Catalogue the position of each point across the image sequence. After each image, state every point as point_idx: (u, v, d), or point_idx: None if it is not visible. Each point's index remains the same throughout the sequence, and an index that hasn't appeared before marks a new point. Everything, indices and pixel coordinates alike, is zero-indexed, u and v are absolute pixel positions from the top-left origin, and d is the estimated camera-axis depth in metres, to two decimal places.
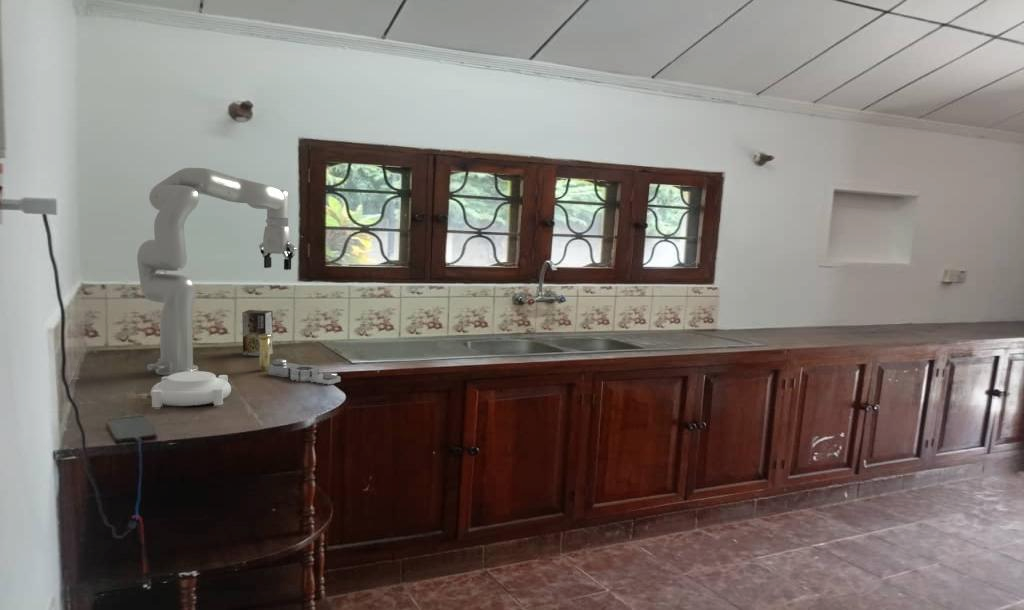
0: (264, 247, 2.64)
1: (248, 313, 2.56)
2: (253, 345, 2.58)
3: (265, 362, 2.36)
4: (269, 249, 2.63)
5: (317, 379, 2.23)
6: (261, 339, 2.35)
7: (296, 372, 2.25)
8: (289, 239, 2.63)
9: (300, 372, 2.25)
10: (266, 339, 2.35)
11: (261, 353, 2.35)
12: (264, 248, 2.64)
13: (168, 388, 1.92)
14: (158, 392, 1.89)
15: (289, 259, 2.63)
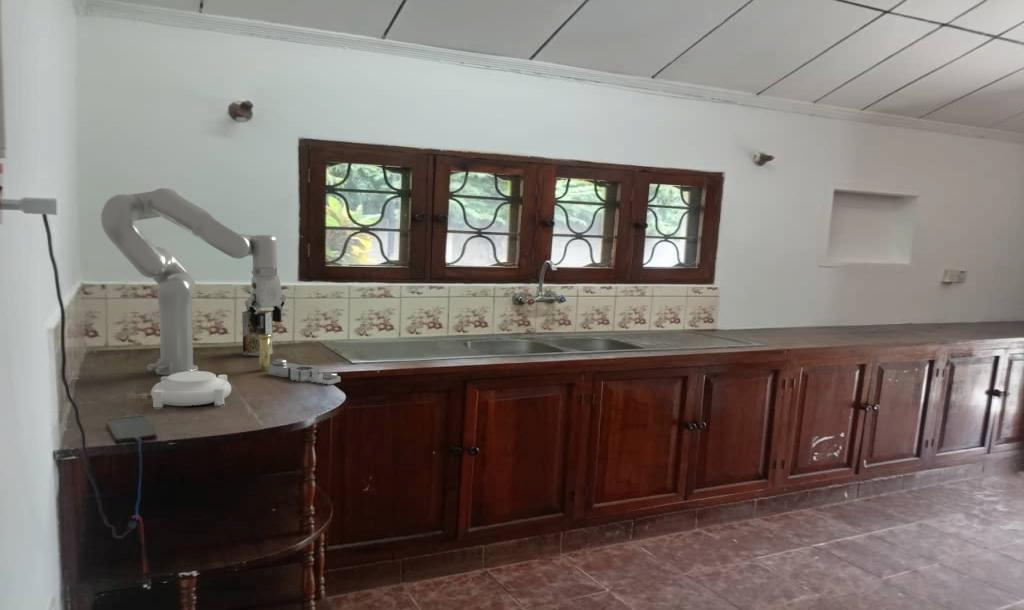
0: (263, 302, 2.30)
1: (248, 313, 2.56)
2: (253, 345, 2.58)
3: (265, 362, 2.36)
4: (269, 303, 2.32)
5: (317, 379, 2.23)
6: (261, 339, 2.35)
7: (296, 372, 2.25)
8: None
9: (300, 372, 2.25)
10: (266, 339, 2.35)
11: (261, 353, 2.35)
12: (263, 303, 2.30)
13: (169, 389, 1.92)
14: (159, 392, 1.89)
15: None
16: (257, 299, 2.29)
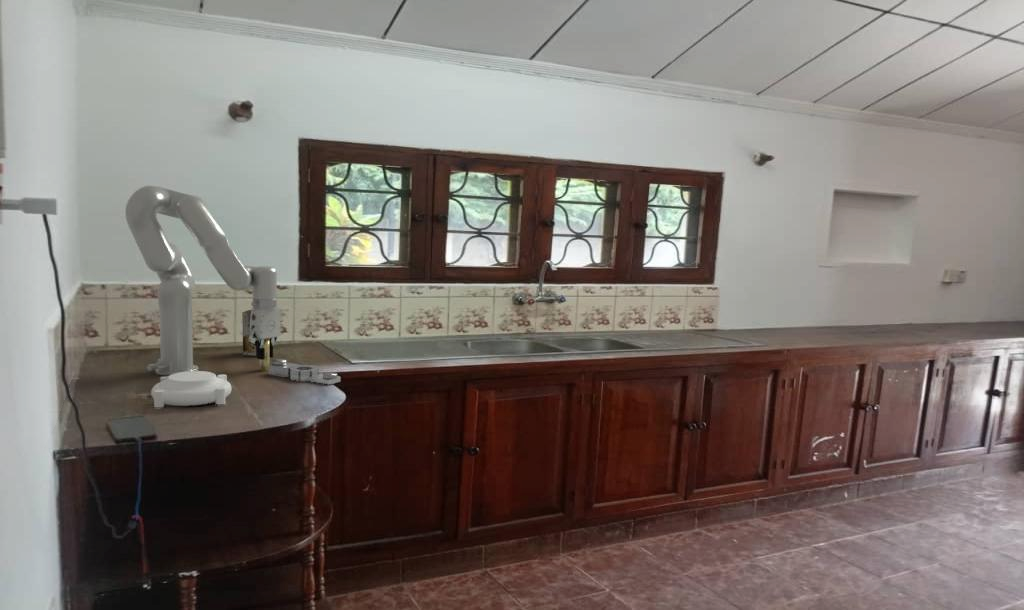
0: (262, 334, 2.31)
1: (248, 313, 2.56)
2: (253, 345, 2.58)
3: (265, 362, 2.36)
4: (268, 334, 2.34)
5: (317, 379, 2.23)
6: None
7: (296, 372, 2.25)
8: None
9: (300, 372, 2.25)
10: (266, 339, 2.35)
11: None
12: (262, 335, 2.31)
13: (170, 389, 1.92)
14: (160, 392, 1.89)
15: None
16: None
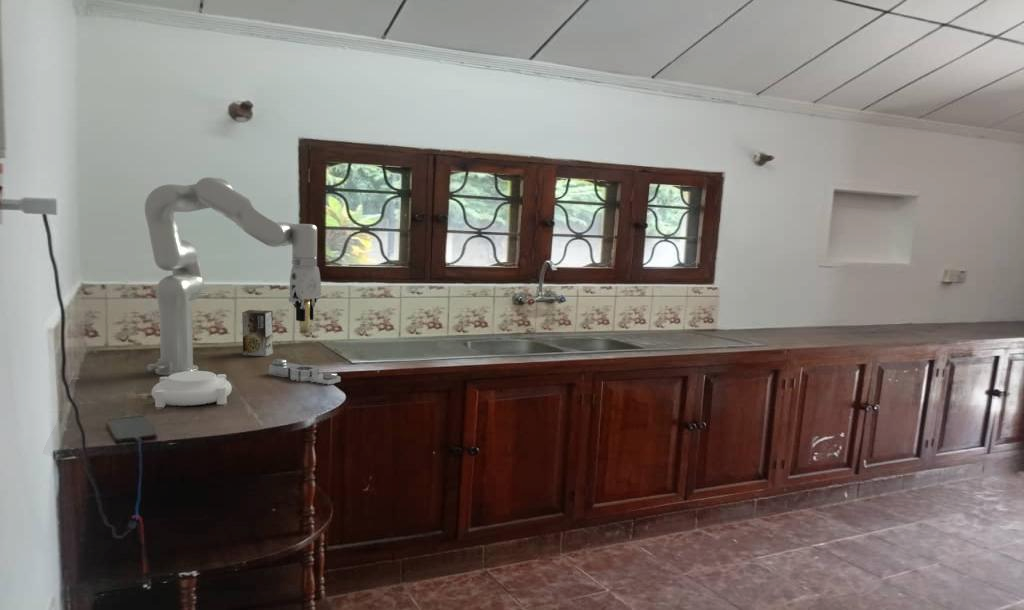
0: (303, 293, 2.21)
1: (248, 313, 2.56)
2: (253, 345, 2.58)
3: (305, 324, 2.26)
4: (308, 295, 2.23)
5: (317, 379, 2.23)
6: None
7: (296, 372, 2.25)
8: None
9: (300, 372, 2.25)
10: (306, 300, 2.25)
11: None
12: (303, 295, 2.21)
13: (171, 388, 1.92)
14: (162, 392, 1.89)
15: None
16: None
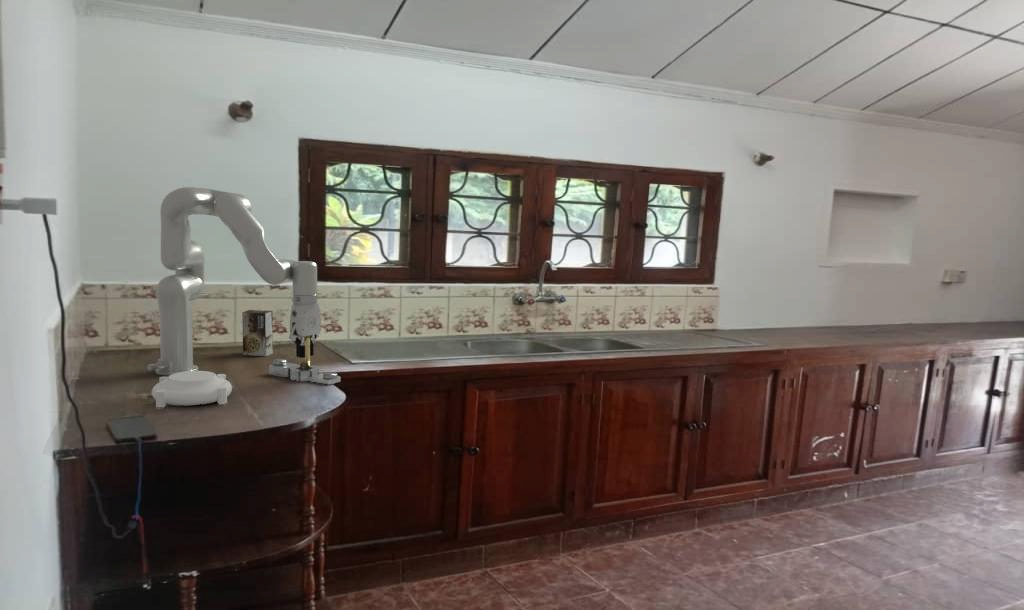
0: (303, 331, 2.23)
1: (248, 313, 2.56)
2: (253, 345, 2.58)
3: (305, 360, 2.27)
4: (309, 331, 2.25)
5: (317, 379, 2.23)
6: None
7: (296, 372, 2.25)
8: None
9: (300, 372, 2.25)
10: (307, 336, 2.26)
11: None
12: (303, 332, 2.23)
13: (171, 388, 1.92)
14: (162, 392, 1.89)
15: None
16: None
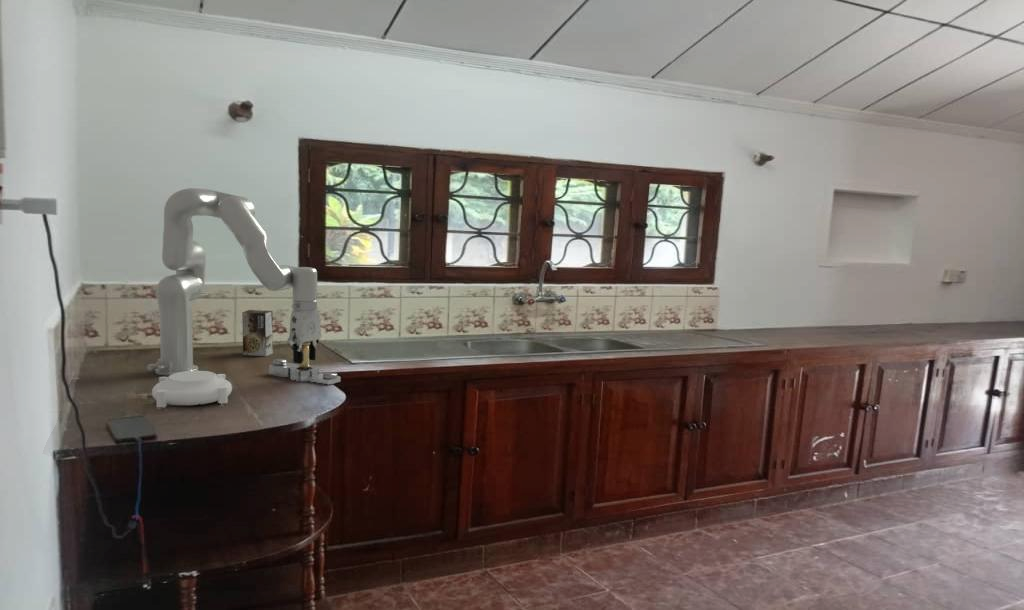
0: (302, 337, 2.23)
1: (248, 313, 2.56)
2: (253, 345, 2.58)
3: None
4: (308, 337, 2.25)
5: (317, 379, 2.23)
6: None
7: (296, 372, 2.25)
8: None
9: (300, 372, 2.25)
10: (306, 346, 2.26)
11: None
12: (302, 338, 2.23)
13: (172, 388, 1.92)
14: (163, 392, 1.89)
15: None
16: (297, 337, 2.22)
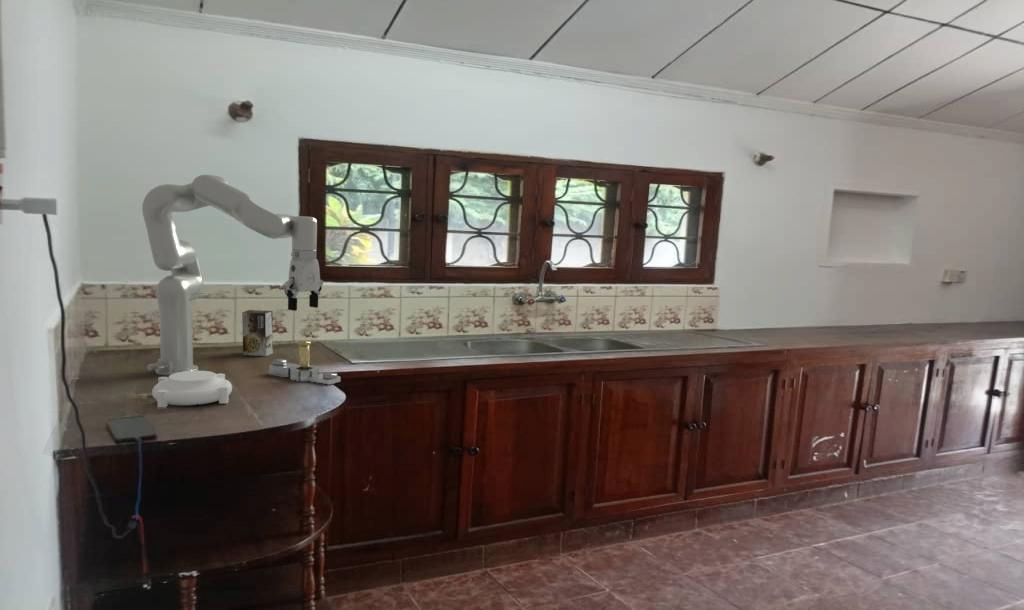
0: (301, 286, 2.21)
1: (248, 313, 2.56)
2: (253, 345, 2.58)
3: None
4: (307, 287, 2.24)
5: (317, 379, 2.23)
6: (301, 346, 2.26)
7: (296, 372, 2.25)
8: None
9: (300, 372, 2.25)
10: (306, 346, 2.27)
11: (301, 361, 2.27)
12: (301, 287, 2.21)
13: (172, 388, 1.92)
14: (164, 392, 1.89)
15: None
16: (295, 282, 2.21)
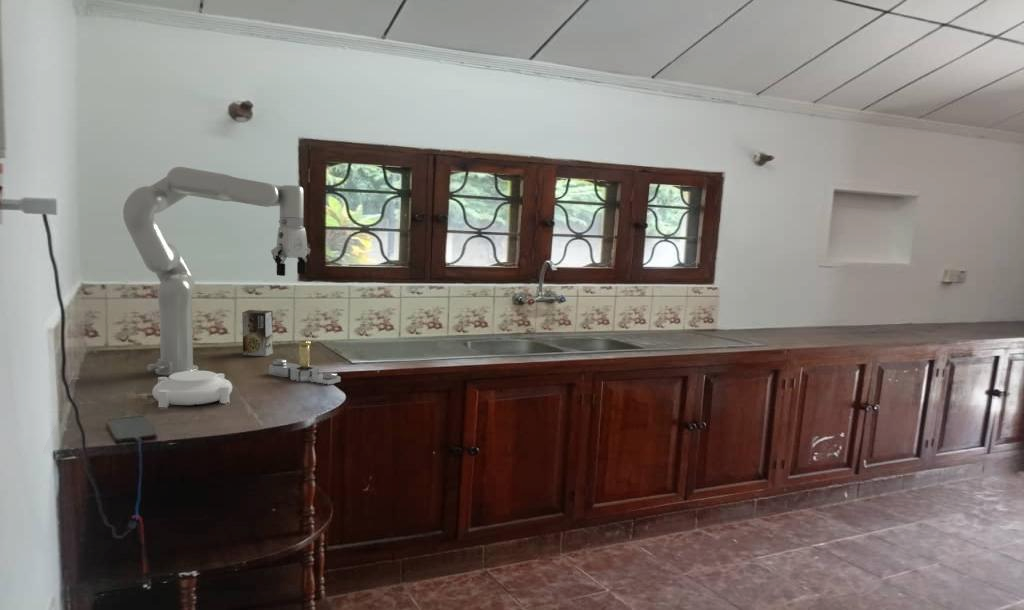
0: (289, 252, 2.31)
1: (248, 313, 2.56)
2: (253, 345, 2.58)
3: None
4: (295, 253, 2.33)
5: (317, 379, 2.23)
6: (301, 346, 2.26)
7: (296, 372, 2.25)
8: None
9: (300, 372, 2.25)
10: (306, 346, 2.27)
11: (301, 361, 2.27)
12: (289, 253, 2.31)
13: (173, 388, 1.92)
14: (165, 392, 1.89)
15: None
16: (283, 248, 2.30)
